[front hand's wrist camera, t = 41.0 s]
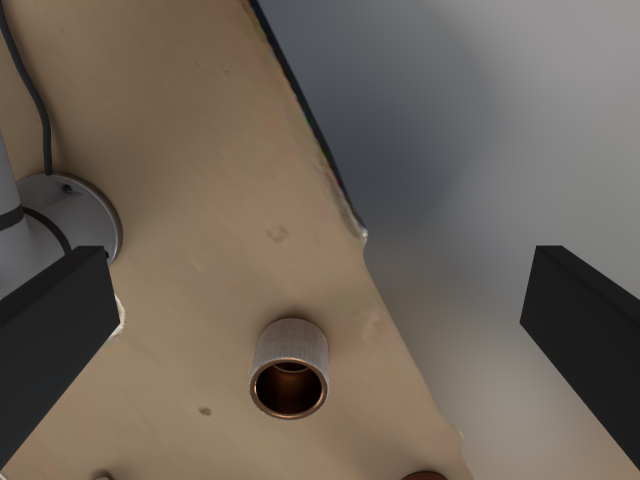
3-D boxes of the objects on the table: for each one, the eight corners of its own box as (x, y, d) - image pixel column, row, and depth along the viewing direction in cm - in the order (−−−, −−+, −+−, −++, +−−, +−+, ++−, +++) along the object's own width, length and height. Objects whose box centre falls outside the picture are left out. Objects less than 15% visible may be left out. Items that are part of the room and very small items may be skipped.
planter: (342, 348, 62) (346, 393, 54) (291, 385, 65) (286, 433, 56) (295, 302, 59) (290, 342, 50) (243, 342, 62) (230, 387, 53)
